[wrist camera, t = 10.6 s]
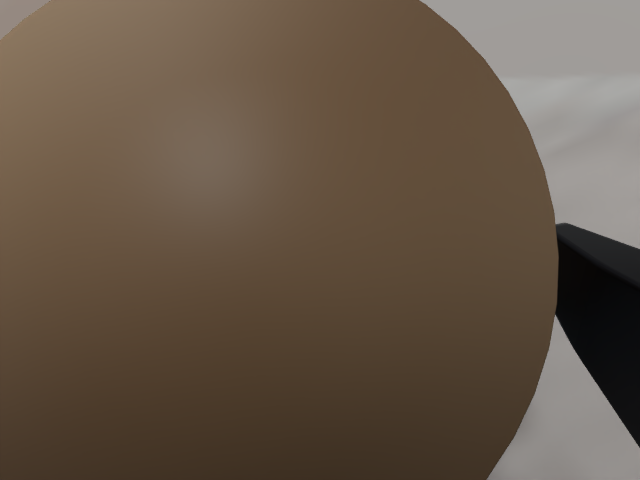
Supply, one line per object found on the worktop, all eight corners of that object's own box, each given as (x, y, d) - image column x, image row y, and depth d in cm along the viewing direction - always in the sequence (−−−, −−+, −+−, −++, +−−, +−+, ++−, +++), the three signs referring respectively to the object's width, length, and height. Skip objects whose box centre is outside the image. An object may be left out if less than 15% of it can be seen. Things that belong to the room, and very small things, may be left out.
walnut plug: (396, 276, 16) (679, 139, 3) (332, 379, 15) (310, 800, 2) (298, 213, 16) (148, -149, 3) (232, 311, 16) (-247, 338, 3)
